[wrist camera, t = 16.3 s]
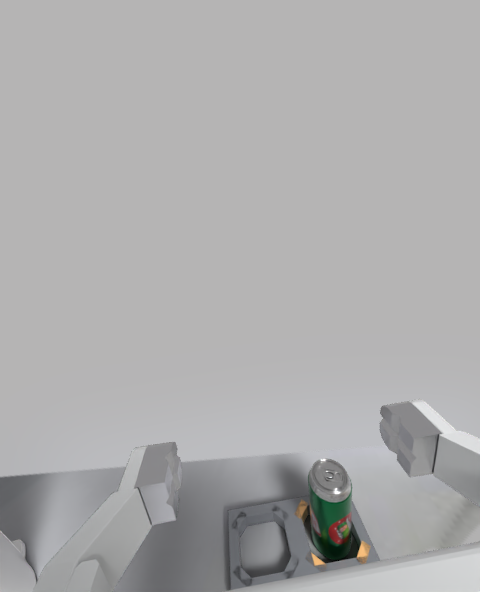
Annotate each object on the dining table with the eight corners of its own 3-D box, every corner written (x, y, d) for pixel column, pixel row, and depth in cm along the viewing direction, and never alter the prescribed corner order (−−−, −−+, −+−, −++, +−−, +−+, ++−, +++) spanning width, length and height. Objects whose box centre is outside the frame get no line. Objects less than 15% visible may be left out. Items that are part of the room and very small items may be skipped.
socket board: (233, 606, 30) (231, 596, 29) (229, 519, 39) (227, 510, 38) (382, 577, 31) (383, 566, 30) (346, 497, 39) (346, 488, 39)
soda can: (310, 514, 38) (307, 453, 34) (347, 520, 37) (348, 458, 33) (312, 558, 33) (308, 493, 29) (354, 566, 32) (356, 500, 28)
